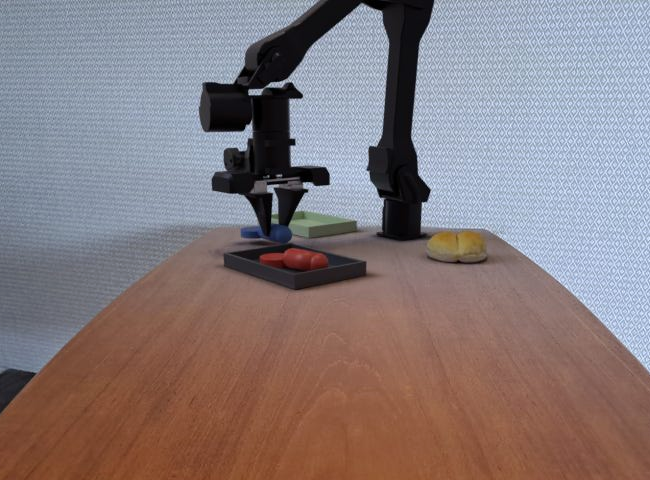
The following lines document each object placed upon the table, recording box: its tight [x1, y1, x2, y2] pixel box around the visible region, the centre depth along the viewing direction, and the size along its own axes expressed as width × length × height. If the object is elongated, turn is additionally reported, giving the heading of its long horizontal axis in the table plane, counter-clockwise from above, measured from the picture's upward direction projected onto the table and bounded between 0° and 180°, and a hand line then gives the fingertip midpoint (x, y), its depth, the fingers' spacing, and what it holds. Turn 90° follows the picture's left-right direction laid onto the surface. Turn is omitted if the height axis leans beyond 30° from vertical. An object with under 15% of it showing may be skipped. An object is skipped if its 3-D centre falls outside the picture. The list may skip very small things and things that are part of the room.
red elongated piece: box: [260, 248, 329, 272], centre depth 93 cm, size 12×5×3 cm, turn 47°
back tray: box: [256, 210, 358, 239], centre depth 125 cm, size 16×11×2 cm
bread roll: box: [426, 230, 488, 264], centre depth 101 cm, size 8×9×4 cm
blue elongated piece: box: [240, 223, 293, 244], centre depth 109 cm, size 12×5×3 cm, turn 40°
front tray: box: [222, 242, 367, 290], centre depth 94 cm, size 17×12×2 cm
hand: (274, 234), depth 108 cm, fingers closed on blue elongated piece, 3 cm apart
